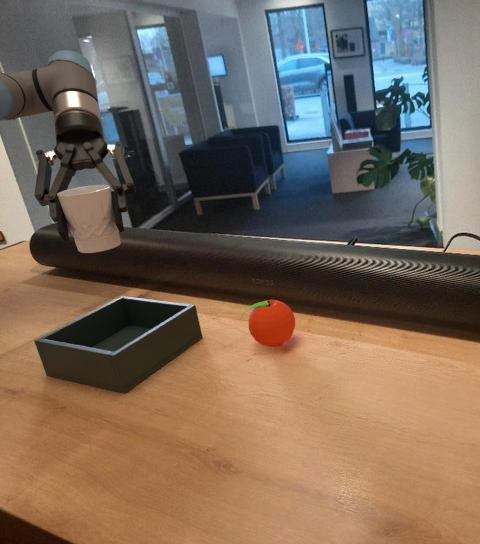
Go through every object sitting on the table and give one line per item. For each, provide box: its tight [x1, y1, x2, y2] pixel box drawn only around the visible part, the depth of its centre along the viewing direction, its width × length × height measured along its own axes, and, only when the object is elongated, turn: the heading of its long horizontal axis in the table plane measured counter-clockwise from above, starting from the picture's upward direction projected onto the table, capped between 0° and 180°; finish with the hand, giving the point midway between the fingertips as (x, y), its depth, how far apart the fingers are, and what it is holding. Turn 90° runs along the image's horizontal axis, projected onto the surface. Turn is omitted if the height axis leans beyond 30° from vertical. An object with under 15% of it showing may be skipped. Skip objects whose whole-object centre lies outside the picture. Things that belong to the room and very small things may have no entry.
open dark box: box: [33, 295, 204, 394], centre depth 74 cm, size 16×16×6 cm
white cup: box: [57, 184, 122, 254], centre depth 83 cm, size 8×8×10 cm
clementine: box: [239, 299, 296, 348], centre depth 74 cm, size 8×7×7 cm
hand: (92, 231), depth 81 cm, fingers closed on white cup, 8 cm apart
